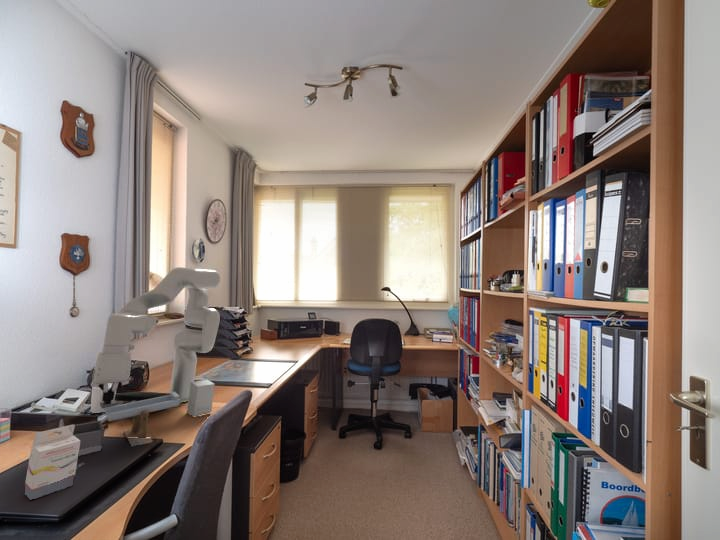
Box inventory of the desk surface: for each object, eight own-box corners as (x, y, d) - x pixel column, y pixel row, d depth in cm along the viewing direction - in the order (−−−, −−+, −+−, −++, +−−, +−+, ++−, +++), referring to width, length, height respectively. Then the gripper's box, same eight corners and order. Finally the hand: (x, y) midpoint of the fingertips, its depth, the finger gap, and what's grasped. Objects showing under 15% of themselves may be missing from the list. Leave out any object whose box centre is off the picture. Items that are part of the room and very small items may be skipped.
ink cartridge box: (29, 502, 79) (39, 439, 80) (22, 494, 81) (32, 433, 82) (74, 486, 86) (83, 428, 87) (66, 478, 89) (75, 422, 89)
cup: (97, 440, 109) (101, 413, 109) (101, 451, 103) (105, 421, 104) (55, 449, 102) (60, 419, 102) (57, 461, 96) (62, 429, 96)
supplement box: (211, 414, 138) (215, 383, 139) (193, 418, 133) (197, 386, 134) (204, 408, 143) (208, 379, 144) (186, 412, 138) (190, 381, 139)
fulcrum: (143, 429, 120) (147, 400, 120) (152, 442, 111) (156, 411, 112) (123, 433, 116) (128, 402, 116) (131, 447, 107) (136, 414, 108)
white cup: (99, 416, 126) (103, 389, 127) (83, 412, 128) (87, 386, 128) (118, 409, 134) (122, 384, 134) (102, 405, 136) (106, 381, 136)
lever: (166, 393, 130) (167, 384, 130) (179, 406, 119) (180, 396, 119) (99, 406, 115) (100, 396, 115) (107, 422, 104) (107, 411, 104)
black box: (177, 393, 146) (157, 397, 127) (172, 415, 144) (151, 422, 125) (135, 390, 144) (109, 393, 125) (129, 412, 142) (101, 419, 123)
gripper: (138, 346, 124) (130, 396, 123) (87, 347, 114) (78, 402, 112) (143, 350, 119) (135, 402, 117) (90, 352, 108) (80, 409, 107)
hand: (107, 402), depth 115 cm, fingers closed
